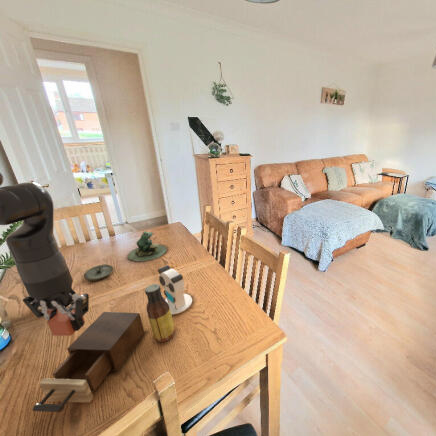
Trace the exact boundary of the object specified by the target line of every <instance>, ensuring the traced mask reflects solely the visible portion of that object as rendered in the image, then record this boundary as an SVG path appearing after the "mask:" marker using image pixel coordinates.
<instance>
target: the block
mask: <svg viewBox="0 0 436 436" xmlns="http://www.w3.org/2000/svg"><path fill="white" fill-rule="evenodd" d="M71 312H72V313H73V314H74V313H75V311H74V310H72V311H71ZM82 318H83V321H84V324H85V323H86V321H85V318H84V315H83V316H82ZM46 323H47V325H48V328H49V329H50V331H51V334H52V336H60V337H61V336H64V337H65V336H66V337H69V336H72V335H74V334H75V333H76V331H74V330H73V327H72V325H71V323H70V319H69V318H68V317H67V316H66V315H65V314H64V315H63V314H62V313H61V312H60V311H58V313H57V314H56V315H55V316H54V317H52V318H51V319H50V320H49V321H48V320H47V321H46Z"/></svg>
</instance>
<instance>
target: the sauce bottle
mask: <svg viewBox="0 0 436 436" xmlns="http://www.w3.org/2000/svg"><path fill="white" fill-rule="evenodd" d="M161 290H162V289H161V284H159V283H152V284H149V285H148V286H145V289H144V293H145V295H146V296H147V303H146V312H147V318H148V321H149V324H150V327H151V331H152V334H153V337H154V338H155V341H156V342H160V343H163V342H167V341H169V340H170V339H172V338H173V337H174V336H175V333H176V329H175V327H176V326H175V323H174V320H173V316H172V315H171V311H170V307H169V304H168V303H167V302H166V300H165V299H166V298H164V297H163V294H162V292H161Z"/></svg>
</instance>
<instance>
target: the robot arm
mask: <svg viewBox="0 0 436 436" xmlns="http://www.w3.org/2000/svg"><path fill="white" fill-rule="evenodd" d="M3 184H4V176H3V173H2V172H0V226H9V225H12V224H15V223H19V222H22V224H21V225H20V226H19V227H18V228H17V229H15V230H14V231H11V233H9V234H8V235H7V236H6V238H5V243H6V246H7V249H8V250H9V252H10V254H11V256H12V259H13V261H14V263H15V267H16V271H17V274H18V276H19V278H20V280H21V282H22V284H23V286H24V288H25V291H26V290H27V292H28V296H27V297H26V298H25V297H23V299H22V302H23V303H24V304H25V306H27V308H28V309H29V310H30V311H31V313H32V314H33V315H34V316H35V317H36V318H38V319H40V318H42V317H43V318H44V320H46V321H47V322H48V321H49V320H50V319H51V318H52V317H54V316H55V315H56V314H57V313H58V312H61V313H62V314H63V315H64V314H65V315H66V316H67V317H68V318H69V319H70V323H71V325H72V327H73V330H74V331H75V332H79V331H80V329H82V328H83V326H85V323H84V321H83V318H84V315H86V314H87V313H88V312H89V311H90V310H89V309H90V308H89V306H90V295H89V294H88V293H87V292H85V293H83V294H78V293H76V291H75V290H74V289H73V286H72V285H73V282H74V280H73V277H72V273H71V271H70V269H69V267H68V263H67V261H66V258H65V256H64V254H63V253H62V252H61V250H60V247H59V244H58V242H57V239H56V237H55V233H54V227H55V226H54V224H55V222H54V221H55V220H54V219H55V218H54V217H55V208H54V206H55V205H54V200H53V198H52V195H51V194H50V193H49V191H48V190H47V189H46V188H45V187H43V186H42V185H40V184H38V183H36V182H30V181H29V182H20V183H16V184H15V183H14V184H10V185H6V186H3ZM40 306H41V310H40V309H38V307H40ZM72 310H74V311H75V313H74V314H73V313H72V312H71V311H72ZM82 316H83V318H82Z"/></svg>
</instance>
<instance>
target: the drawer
mask: <svg viewBox="0 0 436 436" xmlns="http://www.w3.org/2000/svg"><path fill="white" fill-rule="evenodd" d="M112 367H113V366H112V363H111V361H110V358H109V355H108V352H92V351H73V352H72V353H71V354H68V356H67V358H65V359H64V361H63V362H61V363H60V365H59V366H58V367H57V368H56V369H55V370H54V371H53V372H52V373H51V375H52V377H53V378H42V379H41V381H39V382H38V385H39V386H40V389H41V390H42V392H43V394H44V395H45V396H44V397H43V398H42V399H41V400H40V402H39V403H35V404H34V406H33V407H32V409H31V410H32V412H41V413H43V412H44V413H62V412H63V411H64V409H65V407H66V406H65V405H66V404H67V403H88V404H89V403H91V402H92V401H93V400H94V394H93V393H92V392H96V390H97V389H98V387H99V386H100V385H101V383H102V382H103V381H104V379H105V378H106V376H107V375H108V374H109V373H110V372H111V371H110V370H111V368H112ZM47 401H48V402H61V403H46V402H47Z"/></svg>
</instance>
